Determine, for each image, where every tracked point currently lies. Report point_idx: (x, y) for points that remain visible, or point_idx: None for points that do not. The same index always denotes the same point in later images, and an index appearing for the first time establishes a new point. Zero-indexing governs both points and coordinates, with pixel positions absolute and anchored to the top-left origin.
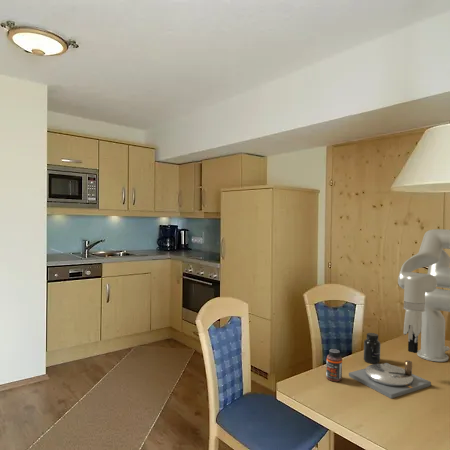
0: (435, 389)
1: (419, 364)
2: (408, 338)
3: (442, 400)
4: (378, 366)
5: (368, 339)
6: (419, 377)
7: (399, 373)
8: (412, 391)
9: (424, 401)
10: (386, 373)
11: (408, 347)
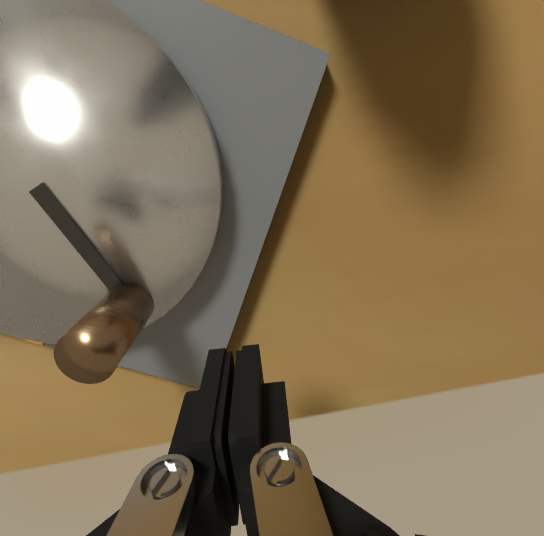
0: None
1: (524, 242)
2: (112, 528)
3: (91, 447)
4: (82, 60)
5: None
6: (225, 331)
7: (85, 256)
8: None
9: (5, 398)
10: (3, 178)
11: (204, 379)
